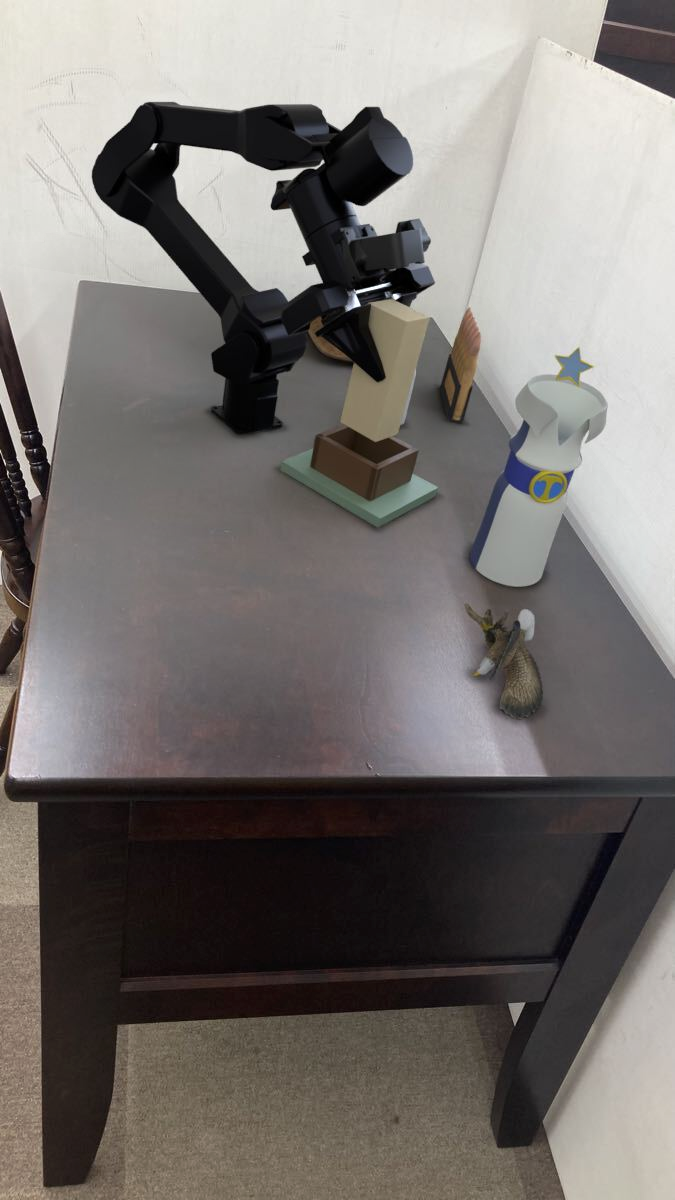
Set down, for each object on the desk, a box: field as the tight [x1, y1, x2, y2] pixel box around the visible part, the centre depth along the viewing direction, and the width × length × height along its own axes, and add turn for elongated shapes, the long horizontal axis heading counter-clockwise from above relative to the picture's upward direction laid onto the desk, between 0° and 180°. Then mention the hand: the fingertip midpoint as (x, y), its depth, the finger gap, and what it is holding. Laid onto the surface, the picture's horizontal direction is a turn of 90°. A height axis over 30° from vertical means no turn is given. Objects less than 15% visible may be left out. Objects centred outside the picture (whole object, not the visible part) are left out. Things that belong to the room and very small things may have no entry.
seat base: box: [279, 423, 439, 529], centre depth 98 cm, size 14×11×5 cm
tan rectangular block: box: [340, 299, 431, 442], centre depth 92 cm, size 5×4×13 cm
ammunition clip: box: [439, 306, 482, 424], centre depth 118 cm, size 11×2×12 cm, turn 1°
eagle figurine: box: [464, 602, 544, 720], centre depth 76 cm, size 8×7×9 cm
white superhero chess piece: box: [469, 346, 609, 588], centre depth 84 cm, size 8×9×25 cm
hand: (394, 376), depth 91 cm, fingers closed on tan rectangular block, 4 cm apart
